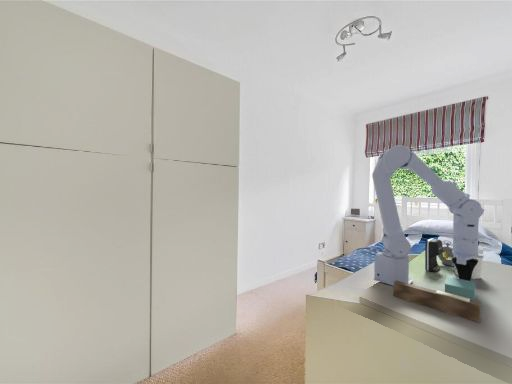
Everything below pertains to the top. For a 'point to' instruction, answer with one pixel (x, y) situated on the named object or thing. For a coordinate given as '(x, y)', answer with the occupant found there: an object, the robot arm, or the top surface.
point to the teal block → (460, 287)
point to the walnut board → (439, 300)
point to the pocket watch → (447, 255)
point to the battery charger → (432, 254)
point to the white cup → (477, 268)
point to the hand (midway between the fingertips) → (464, 282)
